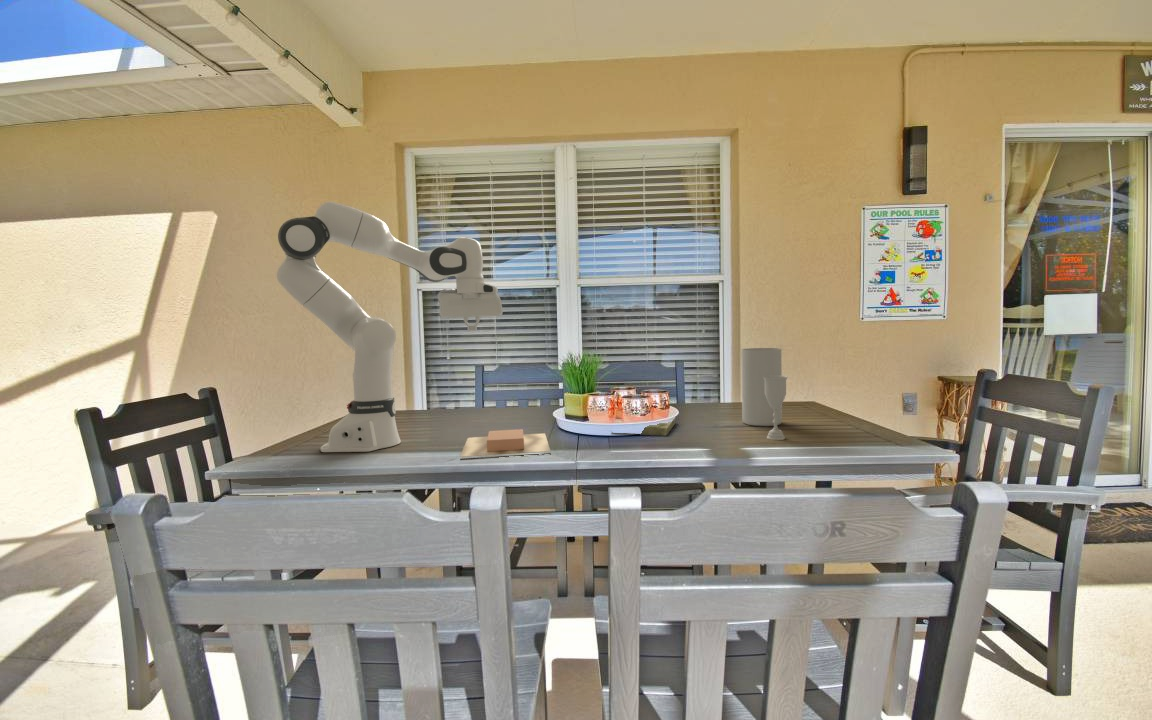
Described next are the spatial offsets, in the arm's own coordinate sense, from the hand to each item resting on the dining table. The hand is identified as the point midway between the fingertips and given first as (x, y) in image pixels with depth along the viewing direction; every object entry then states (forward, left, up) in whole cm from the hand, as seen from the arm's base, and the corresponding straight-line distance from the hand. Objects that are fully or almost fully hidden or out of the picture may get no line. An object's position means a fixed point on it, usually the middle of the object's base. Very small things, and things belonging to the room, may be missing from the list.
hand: (472, 331), depth 166 cm
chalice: (+88, -31, -34) cm, 99 cm away
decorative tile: (+55, -6, -35) cm, 65 cm away
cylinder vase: (+95, -9, -34) cm, 101 cm away
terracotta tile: (+10, -18, -31) cm, 37 cm away
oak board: (+10, -22, -34) cm, 42 cm away
